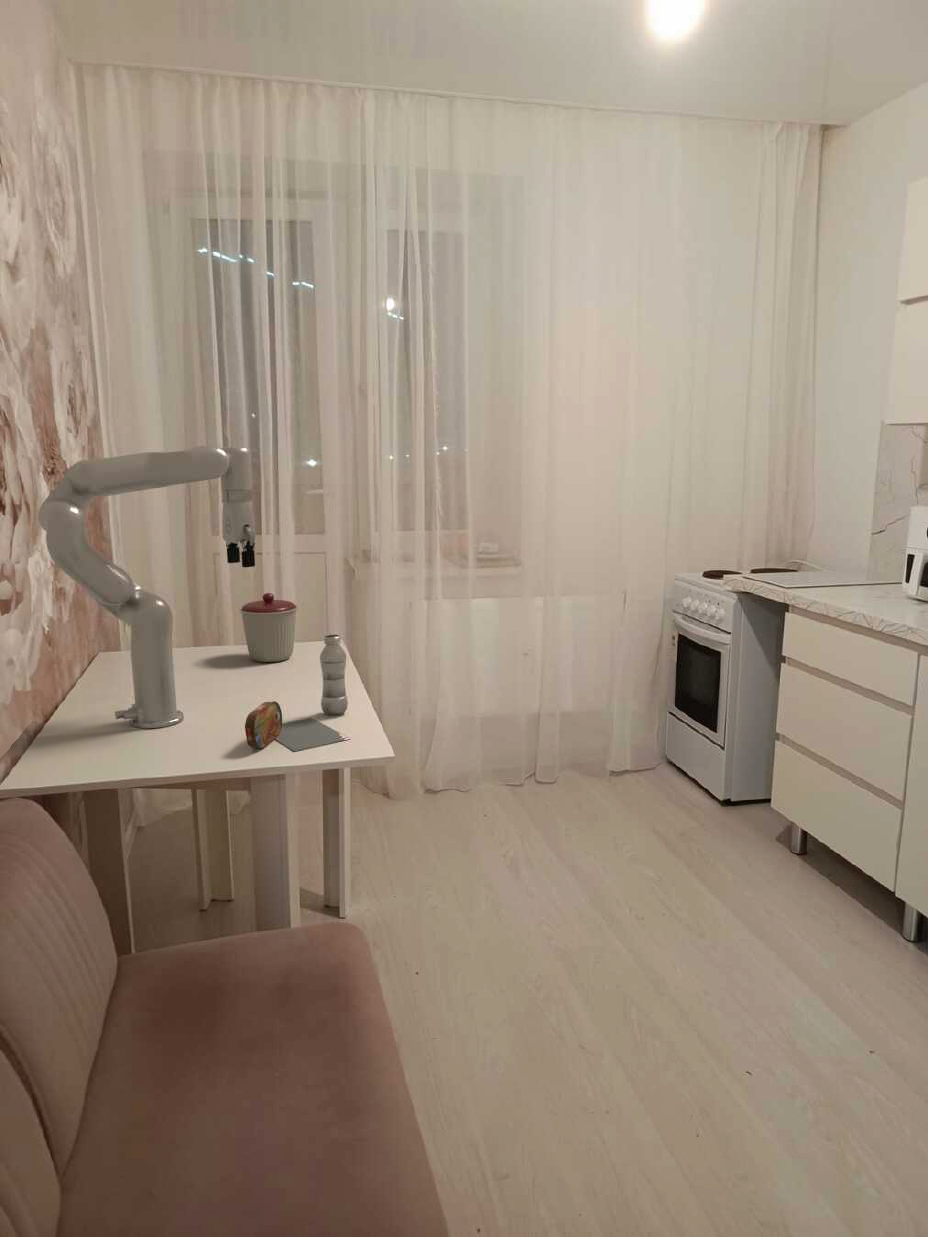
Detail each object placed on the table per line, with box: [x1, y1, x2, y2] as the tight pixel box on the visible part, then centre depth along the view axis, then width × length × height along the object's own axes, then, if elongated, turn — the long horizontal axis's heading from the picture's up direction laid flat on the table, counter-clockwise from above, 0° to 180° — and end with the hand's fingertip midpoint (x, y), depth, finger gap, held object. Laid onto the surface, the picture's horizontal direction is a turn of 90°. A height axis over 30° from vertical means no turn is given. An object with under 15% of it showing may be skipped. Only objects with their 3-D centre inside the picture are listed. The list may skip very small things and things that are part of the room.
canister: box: [238, 592, 299, 663], centre depth 280 cm, size 18×18×21 cm
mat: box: [274, 717, 348, 753], centre depth 209 cm, size 14×20×1 cm
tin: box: [244, 700, 283, 749], centre depth 203 cm, size 15×3×8 cm, turn 168°
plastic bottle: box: [319, 634, 349, 715], centre depth 223 cm, size 6×7×20 cm
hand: (241, 564), depth 226 cm, fingers open, 9 cm apart
